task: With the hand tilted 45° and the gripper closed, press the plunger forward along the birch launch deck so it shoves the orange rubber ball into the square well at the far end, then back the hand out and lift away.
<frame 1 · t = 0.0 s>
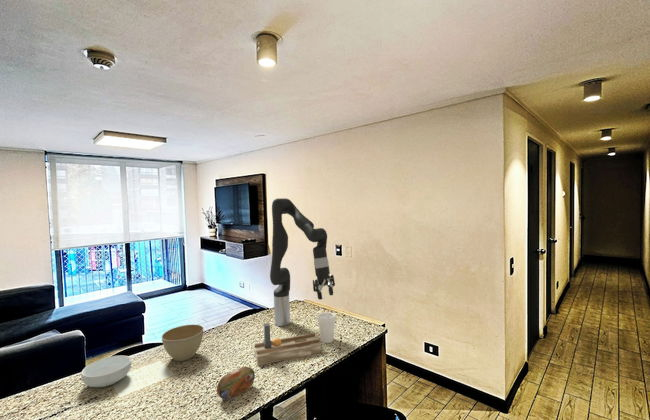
hand: (325, 297, 158), 22 cm above the counter, tool pointing down, fingers open, 8 cm apart
tin: (236, 393, 116), on the counter
ball: (276, 342, 144), point 6 cm above the counter, touching launch deck
foam cup: (327, 340, 158), on the counter
deep beige bowl: (184, 357, 145), on the counter
launch deck: (287, 352, 146), on the counter
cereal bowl: (108, 382, 126), on the counter
plunger: (267, 336, 142), point 10 cm above the counter, slide at 0.0 cm
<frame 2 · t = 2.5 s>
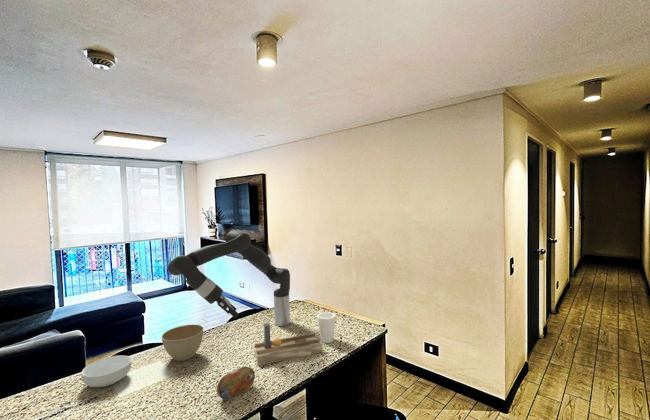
hand: (236, 313, 136), 23 cm above the counter, tool tilted 45°, fingers open, 8 cm apart
nothing on the counter moved.
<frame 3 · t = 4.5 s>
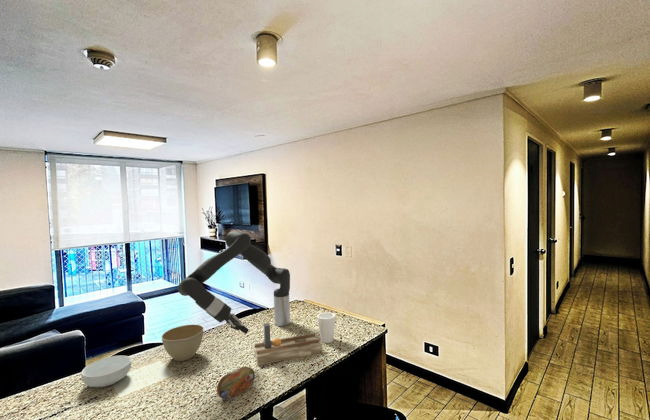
hand: (247, 331, 140), 13 cm above the counter, tool tilted 45°, fingers closed
nothing on the counter moved.
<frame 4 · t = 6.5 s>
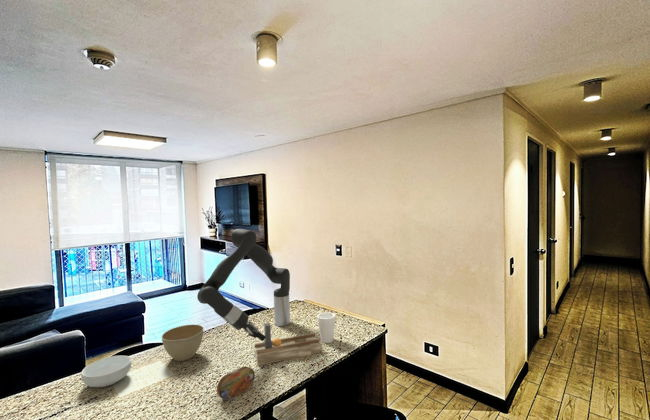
hand: (263, 338, 142), 9 cm above the counter, tool tilted 45°, fingers closed
plunger: (267, 336, 142), point 10 cm above the counter, slide at 0.3 cm, touching gripper
everything else where it was.
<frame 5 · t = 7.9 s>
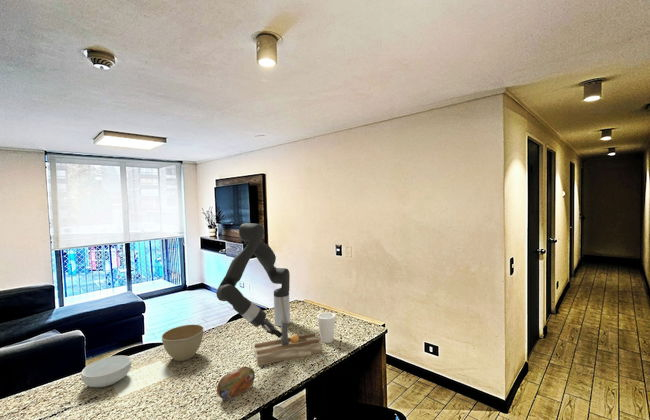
hand: (280, 335, 145), 9 cm above the counter, tool tilted 45°, fingers closed
ball: (294, 339, 147), point 6 cm above the counter, tilted 112°, touching launch deck
plunger: (284, 333, 145), point 10 cm above the counter, slide at 8.2 cm, touching gripper
everything else where it was.
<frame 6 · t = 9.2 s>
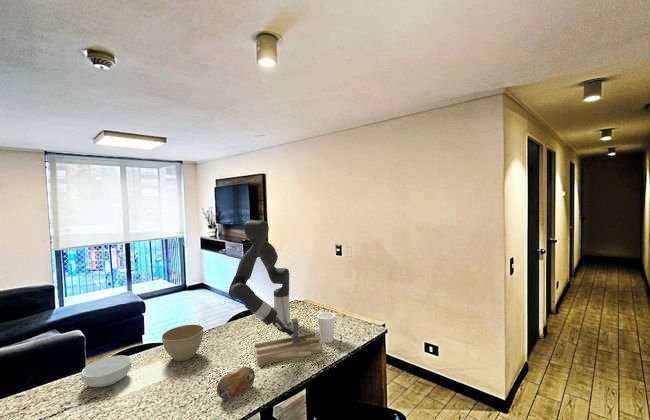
hand: (291, 333, 146), 9 cm above the counter, tool tilted 45°, fingers closed
ball: (302, 345, 148), point 2 cm above the counter, tilted 32°
plunger: (295, 331, 147), point 10 cm above the counter, slide at 13.5 cm, touching gripper
everything else where it was.
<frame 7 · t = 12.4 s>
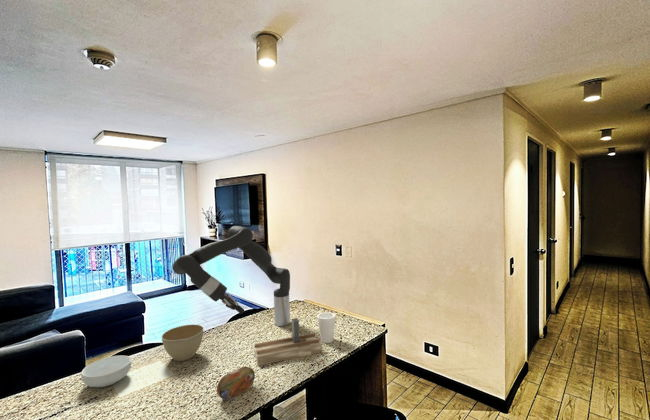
hand: (242, 311, 138), 23 cm above the counter, tool tilted 45°, fingers closed
ball: (300, 346, 148), point 2 cm above the counter
plunger: (295, 331, 147), point 10 cm above the counter, slide at 13.8 cm
everything else where it was.
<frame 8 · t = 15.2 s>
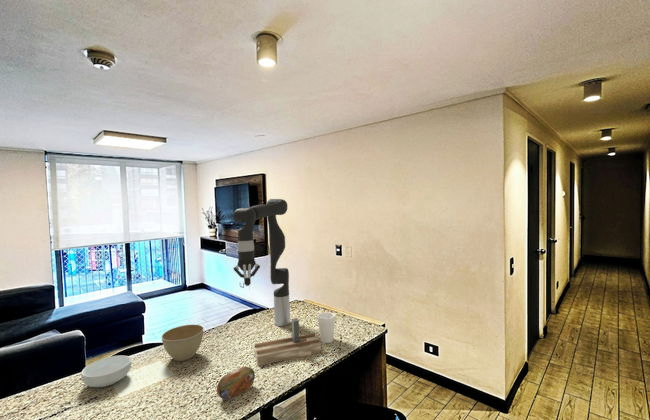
hand: (247, 285, 146), 33 cm above the counter, tool pointing down, fingers closed
ball: (299, 346, 148), point 2 cm above the counter, tilted 13°
everything else where it was.
at the end: ball 1.0 cm from the target spot on the launch deck, point 2.0 cm above the launch deck's base; plunger slide at 13.8 cm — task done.
